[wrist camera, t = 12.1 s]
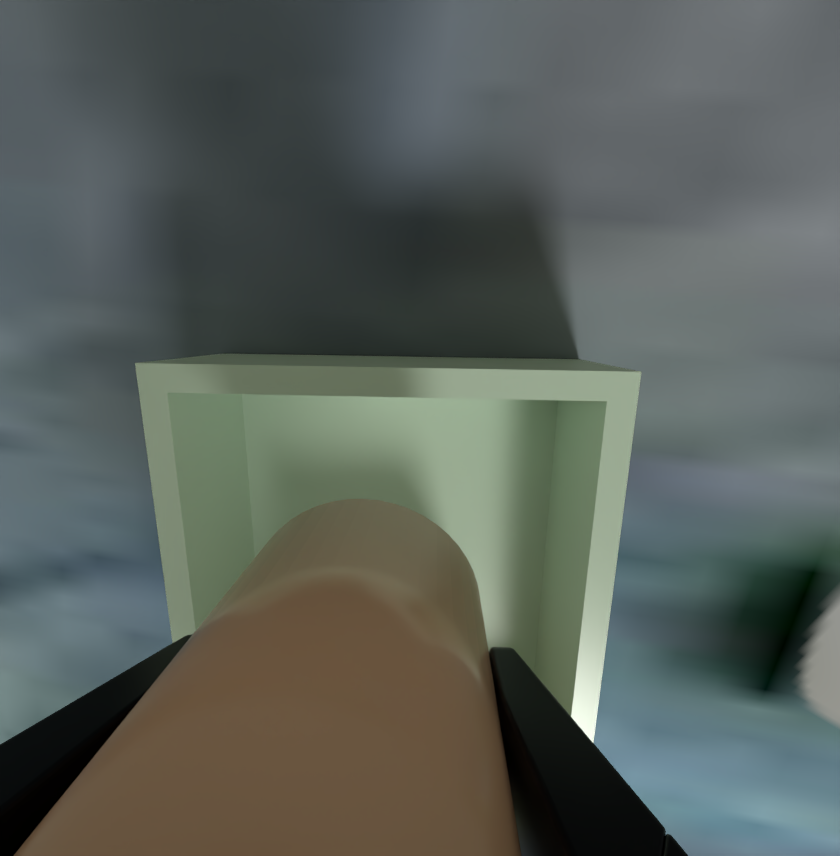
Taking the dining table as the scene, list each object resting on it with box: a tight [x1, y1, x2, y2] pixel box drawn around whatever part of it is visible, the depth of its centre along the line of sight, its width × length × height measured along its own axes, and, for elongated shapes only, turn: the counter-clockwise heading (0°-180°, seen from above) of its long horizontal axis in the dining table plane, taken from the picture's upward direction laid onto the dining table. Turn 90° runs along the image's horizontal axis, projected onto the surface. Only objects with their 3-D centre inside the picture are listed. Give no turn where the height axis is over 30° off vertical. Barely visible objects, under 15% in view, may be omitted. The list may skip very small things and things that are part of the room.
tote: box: [135, 353, 641, 742], centre depth 16 cm, size 18×14×5 cm
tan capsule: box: [14, 499, 522, 856], centre depth 6 cm, size 5×5×7 cm
